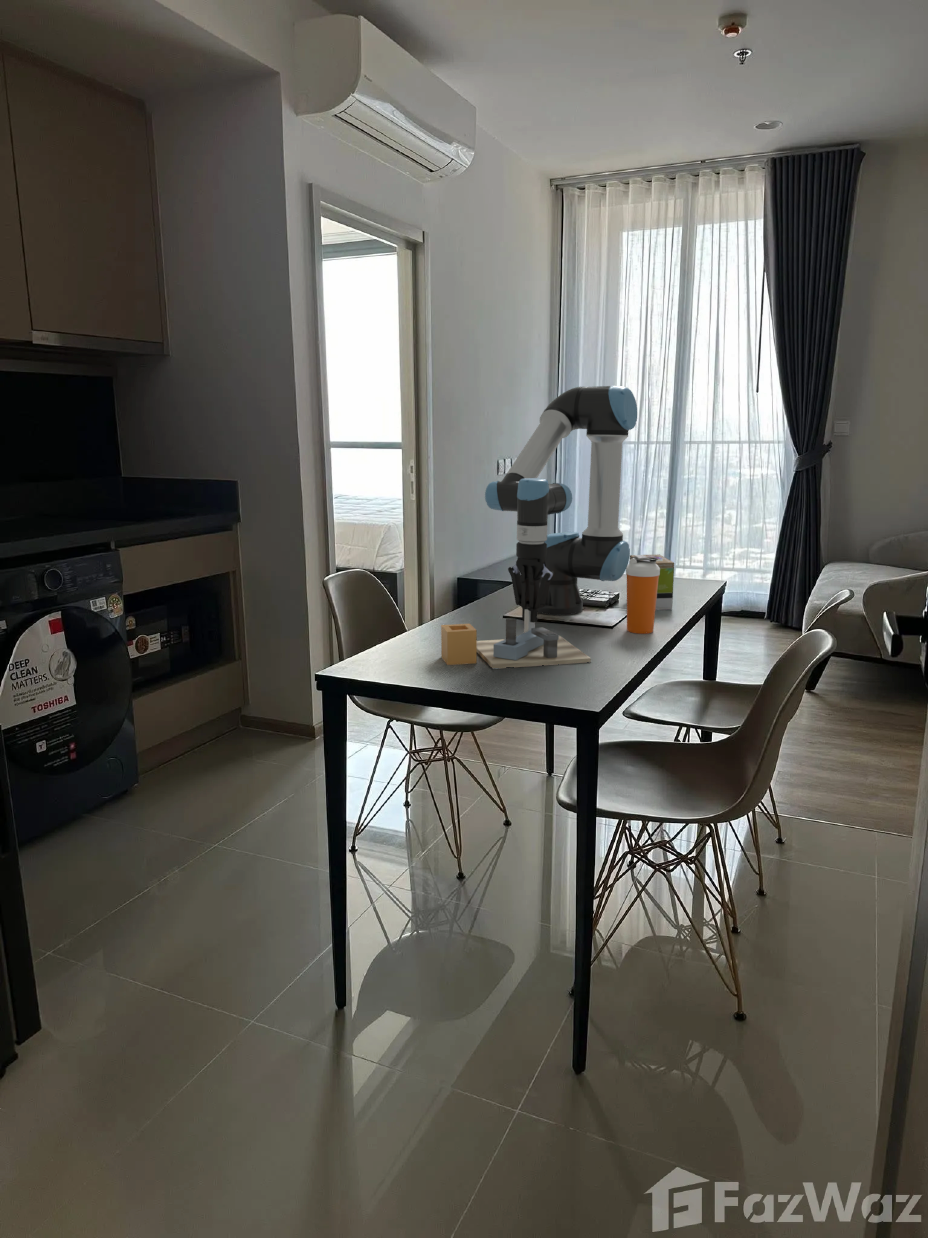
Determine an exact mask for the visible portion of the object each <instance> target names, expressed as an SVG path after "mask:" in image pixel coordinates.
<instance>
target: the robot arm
mask: <svg viewBox="0 0 928 1238" xmlns="http://www.w3.org/2000/svg"><path fill="white" fill-rule="evenodd" d="M637 422H638V405H637V400H636V397H635V395H634V393H633V391H632V390H631V389H630V388H629V387H627V386H621V385H620V386H619V385H605V386H604V385H602V386H577V387H572V388H570V389H567V390H566V391H565V392H562V393H561V394H560V395H559V396H557V397H556V398H554V399H553V400H552V401H551V402H550V403H549V404H548V405H547V406H546V408H545V409H544V410H543V411H542V413H541V414H540V416H539V424H538V425H537V427H536V429H535V430H534V431H533V433H532V435H531V436H530V438H529V439H528V441H527V443H526V444H525V445H524V447H523V449H522V450H521V451H520V453H519V454H518V456H517V457H516V459H515V460H514V462H513V463H512V465H511V467H510V468H509V470H508V471H507V472H506V474H505V476H504V477H503V478H502V480H501V481H499V480H495V481H491V482H489V483H488V484H487V486H486V488H485V492H484V493H485V494H484V500H485V503H486V505H487V507H488V508H489V509H491V510H495V511H501V512H517V513H516V514H517V515H516V517H517V519H516V540H517V541H518V542H517V543H516V548H515V549H516V551H515V553H516V557H517V558H516V559H517V560H516V561H515V564H514V565H513V566H509V567H508V568H507V572H508V573H509V575H510V577H511V583H512V589H513V594H514V600H515V605H516V606H519V607H521V610H522V611H521V612H522V613H521V615H522V617H521V619H522V621H523V622H524V623H523V633H525V632H528V631H530V630H531V628H536V623H537V621H538V613H539V614H543V615H553V616H564V615H565V616H567V615H575V614H580V613H582V612H583V605H584V604H583V600H582V595H581V593H580V590H579V589H580V588H579V586H578V579H588V580H597V581H601V582H607V581H608V582H615V581H616V582H617V581H618V580H620V579H621V577H623V575H624V573H626V567H627V566H628V564H629V561H630V555H631V548H630V544H629V543H628V542H627V541H625V540H623V539H624V533H623V532H622V531H621V530H620V529H619V516H620V515H619V514H620V496H621V495H620V494H621V476H622V458H623V456H622V454H623V442H624V441H625V440H626V439H627V438H628V437H629V431H631V430H633V429H634V428H635V427H636V426H637V425H636V424H637ZM574 430H575V431H576V430H586V437H587V438H588V440H590V442H591V443H590V444H591V446H590V466H589V467H590V469H589V489H588V490H589V492H588V493H589V494H588V512H587V513H588V514H587V527H586V528H585V530H583V531H582V532H581V537H580V534H579V532H578V531H565V532H556V533H555V532H554V533H550V534H549V533H548V516H550V515H554V514H557V515H558V514H560V513H563V512H565V511H566V510H568V509H569V508H570V507H571V504H572V502H573V494H572V491H571V489H570V487H568V486H567V485H566V484H564V483H561V482H552V483H549V481H548V479H546V478H542V477H540V478H539V476H540V474H541V472H542V471H543V469H544V468H545V466H546V465H547V464H548V462H549V460H550V458H551V457H552V455H553V454H554V453H555V451H556V450H557V447H559V444H560V443H561V441H562V440H563V439H565V438H567V437H568V436H569V435H570V434H571V432H573V431H574Z"/></svg>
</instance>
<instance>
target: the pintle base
mask: <svg viewBox="0 0 928 1238" xmlns="http://www.w3.org/2000/svg"><path fill="white" fill-rule="evenodd" d="M531 633H532V634H534V635H536V636H538V637H540V638H542V639H544V644H543V645H541V646H539V647H537V648H535V649H533V650H531V651H529V652H528V655H525V656H523V657H521V658H519V659H517V660H511V659H505V658H499V657H493V653H494V644H496V643H498V642H500V641H502V640H505V639H506V645H512V646H514V645H516V636H517V619H516V618H512V617H511V618H506V620H505V638H504V639H503V638H502V639H489V640H487V639H486V640H477V655H479V656H480V658H482V659H483V660H484V662H486V663H487V664H488V666H490V668H491V667H492V668H499V669H507V668H506V667H514V668H523V667H524V668H527V667H540V666H542V665H544V666H557V665H558V664H559V665H573V664H574V665H575V664H585V663H586V664H587V662H589V663H592V659H591V657H590V656H588V655H587V654H586V653H584V652H583V651H582V650H580V649H579V648H577V646H575V645H573V644H571V642H569V641H568V640H566V639H565V638H564V637H563V636H561V635H560V634H558V633H555V632H553V631H552V630H549V629H547V628H546V627H542V626H541V627H535V628H531ZM559 665H558V666H559ZM492 668H491V669H492Z"/></svg>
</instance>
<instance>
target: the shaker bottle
mask: <svg viewBox="0 0 928 1238" xmlns="http://www.w3.org/2000/svg"><path fill="white" fill-rule="evenodd" d="M641 560H649V561H641ZM656 560H658V559H657V558H650V557H648V558H638V557H636V556H634V557H632V558H631V559H630V558H629V562H628V565H627V567H626V570H625V575H626V631H627V632H628V633H632V634H637V635H638V634H639V635H640V634H641V635H645V634H652V633H653V632H654V629H655V628H654V627H655V618H656V610H655V609H656V599H657V589H658V579H659V575H660V568H659V566H658V565H657V564H656Z"/></svg>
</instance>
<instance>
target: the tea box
mask: <svg viewBox="0 0 928 1238" xmlns="http://www.w3.org/2000/svg"><path fill="white" fill-rule="evenodd" d="M634 556H636V557H638V558H648V557H650V558H657V559H658V560H656V564H657V565H658V566H659V568H660V575H659V579H658V589H657V599H656V609H655V611H669V610H670V611H671V610H673V604H674V603H673V602H674V601H673V600H674V578H675V577H674V576H675V562H674V561H672V560H670V559H668V558H666V557H665V556H663V555H661V554H636V555H635V554H632V555H631V554H630V557H629V560H630V559H631V558H632V557H634ZM641 561H649V560H641Z"/></svg>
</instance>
